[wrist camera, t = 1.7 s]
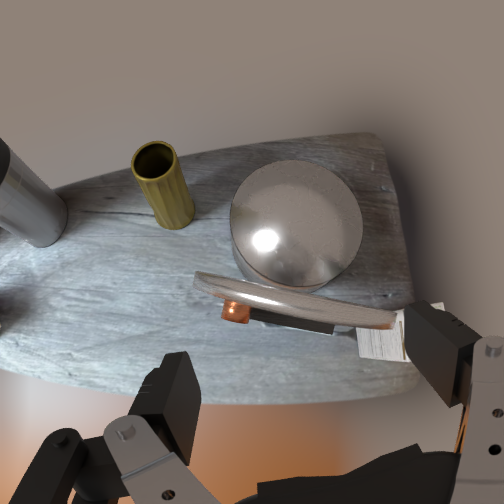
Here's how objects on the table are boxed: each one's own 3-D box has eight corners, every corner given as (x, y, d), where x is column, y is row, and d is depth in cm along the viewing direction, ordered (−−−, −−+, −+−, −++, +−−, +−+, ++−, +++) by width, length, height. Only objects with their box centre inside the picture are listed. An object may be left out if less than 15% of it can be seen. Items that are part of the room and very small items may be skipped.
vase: (186, 186, 48) (169, 129, 34) (201, 219, 47) (188, 169, 33) (149, 202, 47) (120, 151, 33) (163, 237, 46) (135, 193, 32)
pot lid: (210, 272, 35) (204, 297, 35) (172, 268, 18) (163, 315, 18) (358, 303, 35) (353, 327, 35) (438, 322, 18) (428, 363, 18)
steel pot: (219, 284, 44) (214, 269, 36) (244, 180, 49) (246, 148, 40) (333, 307, 44) (355, 298, 35) (346, 204, 48) (367, 176, 40)
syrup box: (388, 312, 44) (444, 297, 30) (393, 352, 42) (451, 351, 28) (353, 319, 44) (402, 306, 30) (358, 359, 42) (409, 363, 28)
